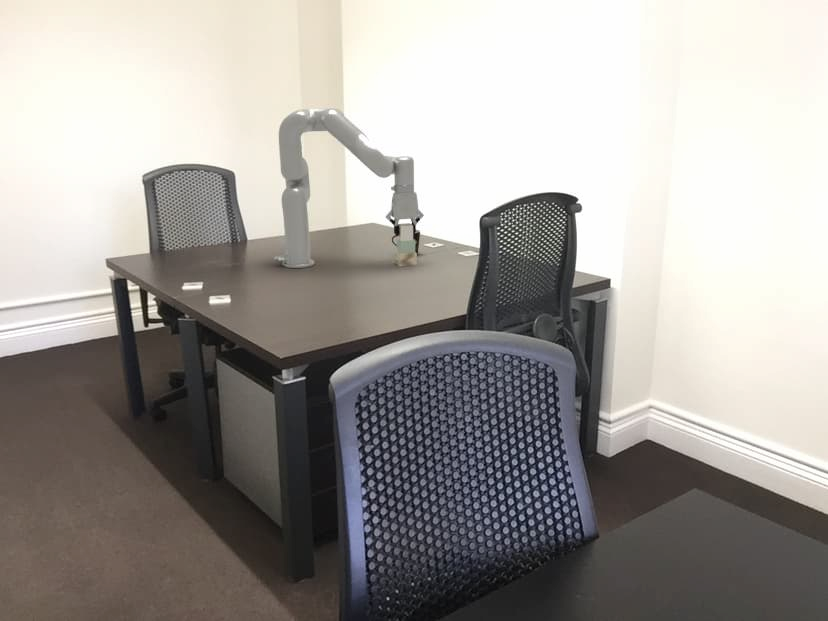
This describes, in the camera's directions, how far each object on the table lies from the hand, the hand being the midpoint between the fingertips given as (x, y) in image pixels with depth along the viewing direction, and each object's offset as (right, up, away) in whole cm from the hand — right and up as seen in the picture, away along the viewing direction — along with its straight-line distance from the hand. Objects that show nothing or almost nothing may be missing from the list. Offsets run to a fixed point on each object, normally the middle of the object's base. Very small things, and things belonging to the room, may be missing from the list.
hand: (404, 234), depth 287 cm
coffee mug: (0, -7, +20) cm, 21 cm away
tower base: (0, -11, +4) cm, 12 cm away
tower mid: (0, -7, +2) cm, 7 cm away
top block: (0, -2, +1) cm, 2 cm away
